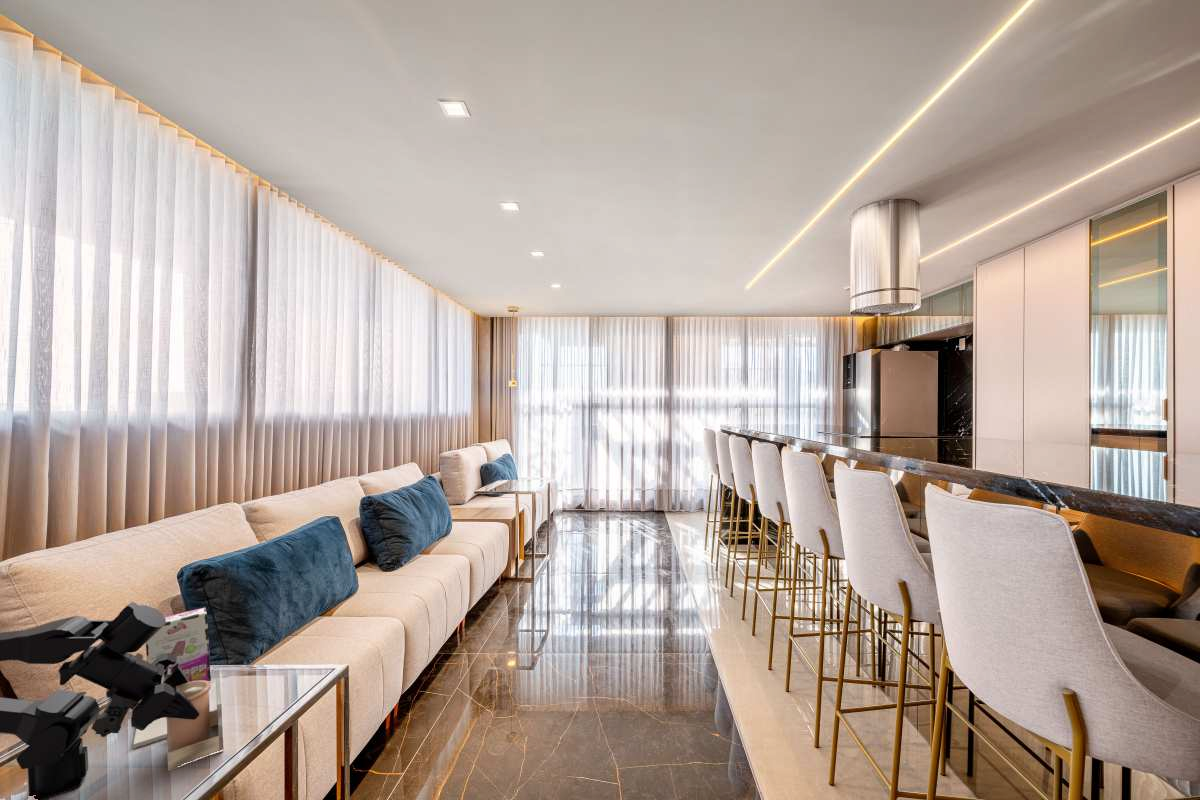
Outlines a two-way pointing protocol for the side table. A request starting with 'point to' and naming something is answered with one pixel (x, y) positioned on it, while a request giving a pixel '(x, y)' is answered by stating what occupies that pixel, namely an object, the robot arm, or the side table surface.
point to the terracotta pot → (188, 729)
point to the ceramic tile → (151, 733)
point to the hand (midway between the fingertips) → (197, 708)
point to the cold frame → (202, 747)
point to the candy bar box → (184, 643)
